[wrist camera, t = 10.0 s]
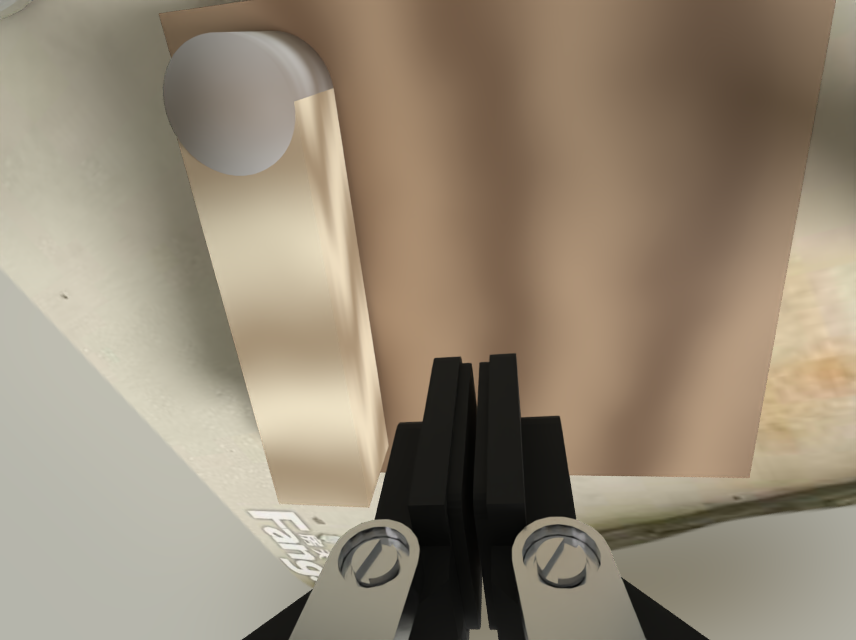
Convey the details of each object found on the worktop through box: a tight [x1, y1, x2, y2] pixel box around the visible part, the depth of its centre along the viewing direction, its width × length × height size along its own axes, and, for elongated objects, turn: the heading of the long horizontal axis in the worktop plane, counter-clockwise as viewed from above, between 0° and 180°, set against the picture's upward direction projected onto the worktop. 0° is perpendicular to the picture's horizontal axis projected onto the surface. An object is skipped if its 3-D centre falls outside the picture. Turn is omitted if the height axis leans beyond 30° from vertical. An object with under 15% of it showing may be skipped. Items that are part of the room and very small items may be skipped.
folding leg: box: [163, 31, 389, 508], centre depth 22 cm, size 18×4×4 cm, turn 5°
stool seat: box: [159, 0, 836, 478], centre depth 24 cm, size 22×21×2 cm
